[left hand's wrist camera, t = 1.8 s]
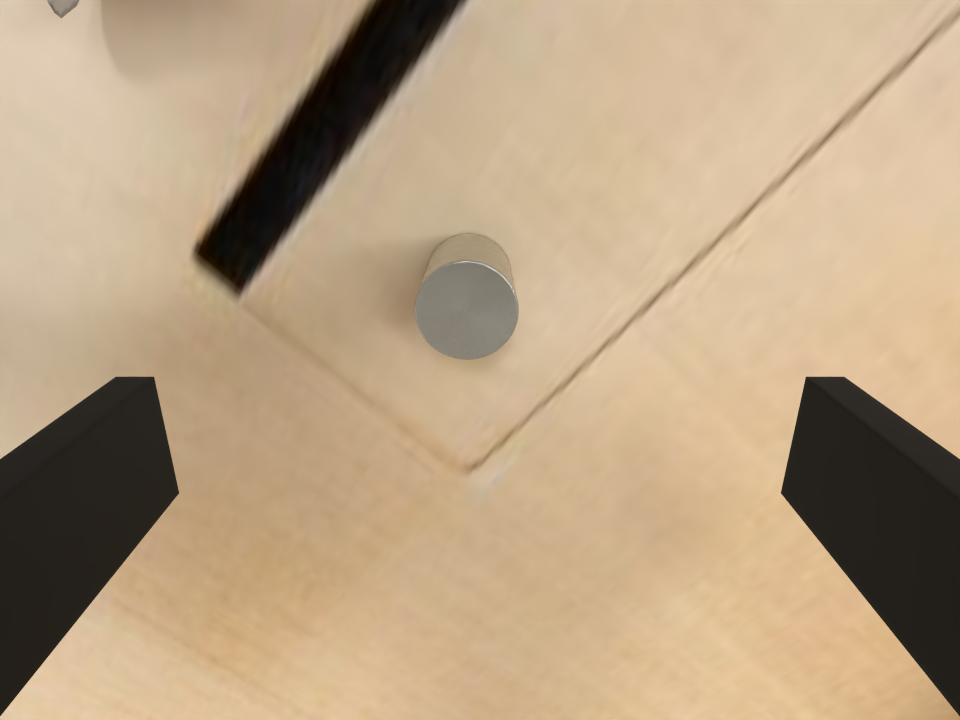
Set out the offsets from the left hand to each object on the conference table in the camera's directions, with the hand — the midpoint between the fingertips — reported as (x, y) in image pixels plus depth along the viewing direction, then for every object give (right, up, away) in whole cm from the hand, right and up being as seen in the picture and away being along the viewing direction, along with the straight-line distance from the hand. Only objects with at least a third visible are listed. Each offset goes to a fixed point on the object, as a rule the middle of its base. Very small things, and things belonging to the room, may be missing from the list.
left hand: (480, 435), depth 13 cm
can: (0, +5, +13) cm, 14 cm away
